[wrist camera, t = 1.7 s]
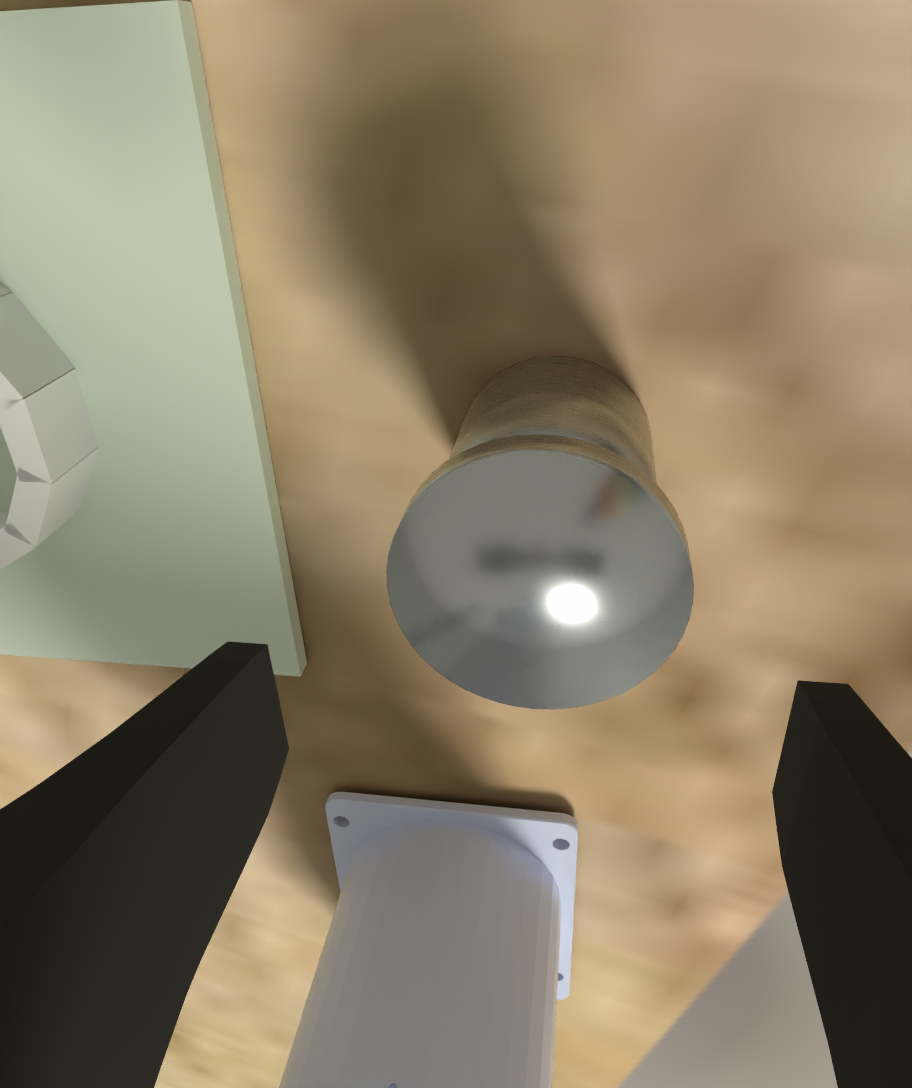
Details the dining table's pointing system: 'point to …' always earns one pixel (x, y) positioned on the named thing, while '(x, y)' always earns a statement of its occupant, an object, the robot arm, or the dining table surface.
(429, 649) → the silver canister
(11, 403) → the duct flange
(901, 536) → the dining table surface
